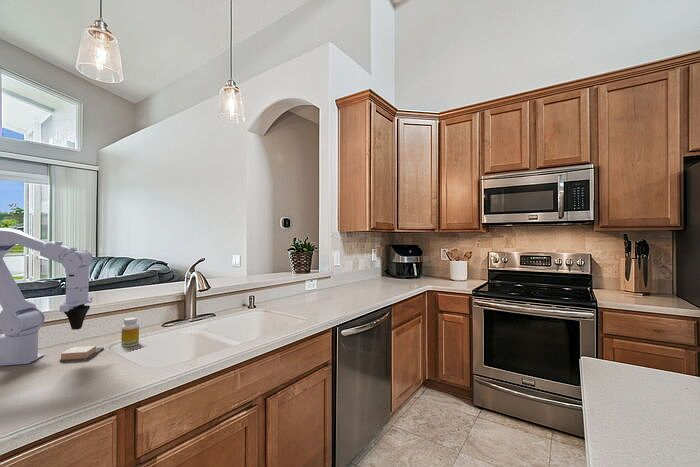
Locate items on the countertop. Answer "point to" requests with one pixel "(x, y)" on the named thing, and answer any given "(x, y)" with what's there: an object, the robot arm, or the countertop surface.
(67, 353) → the light wood block
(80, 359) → the mat
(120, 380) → the countertop surface
